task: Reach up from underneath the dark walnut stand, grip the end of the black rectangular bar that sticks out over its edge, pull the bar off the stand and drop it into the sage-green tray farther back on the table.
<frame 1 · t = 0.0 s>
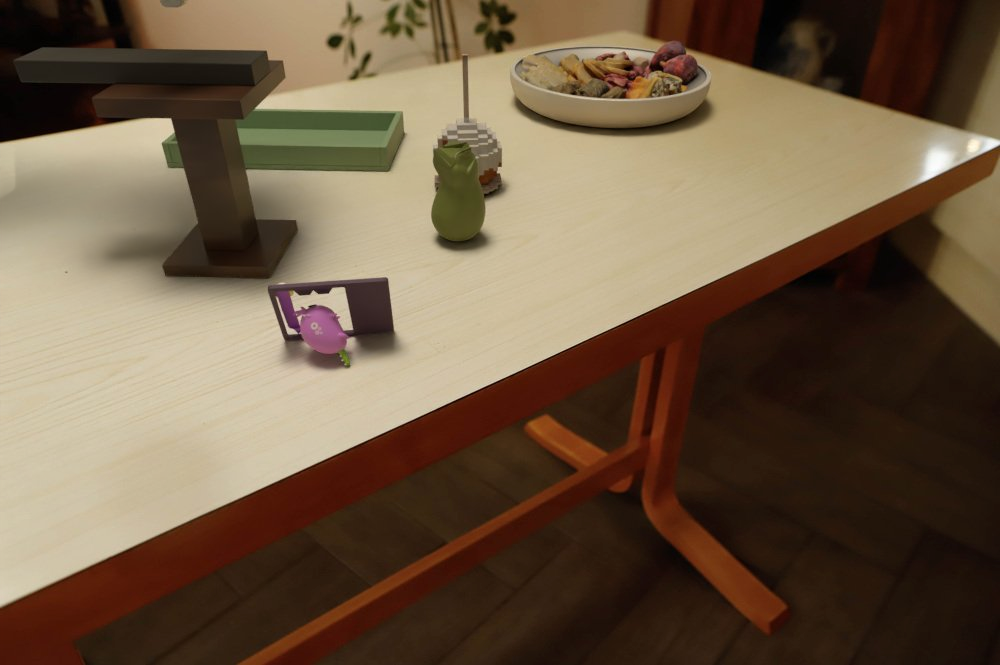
green rounded figure: (458, 239, 75), on the table
green tray: (292, 149, 95), on the table
black rectangular bar: (148, 76, 62), point 17 cm above the table, touching walnut stand
bowl: (606, 103, 112), on the table
walnut stand: (235, 251, 72), on the table
decorative ornament: (468, 188, 85), on the table
pop-out character card: (339, 352, 58), on the table
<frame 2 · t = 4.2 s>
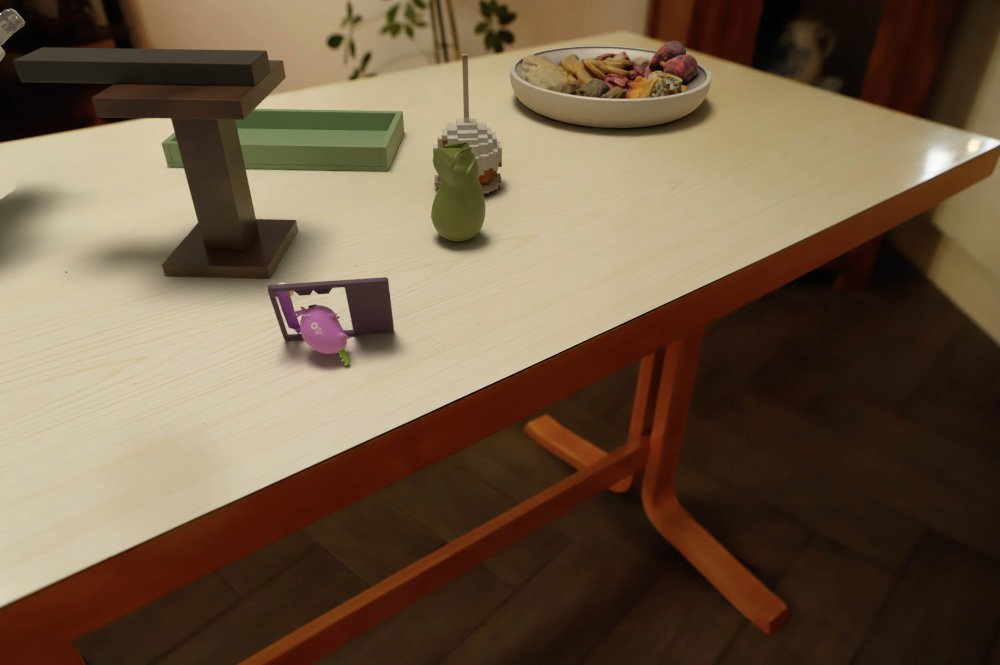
hand: (3, 18, 67), 20 cm above the table, tool pointing upward, fingers open, 8 cm apart
nothing on the table moved.
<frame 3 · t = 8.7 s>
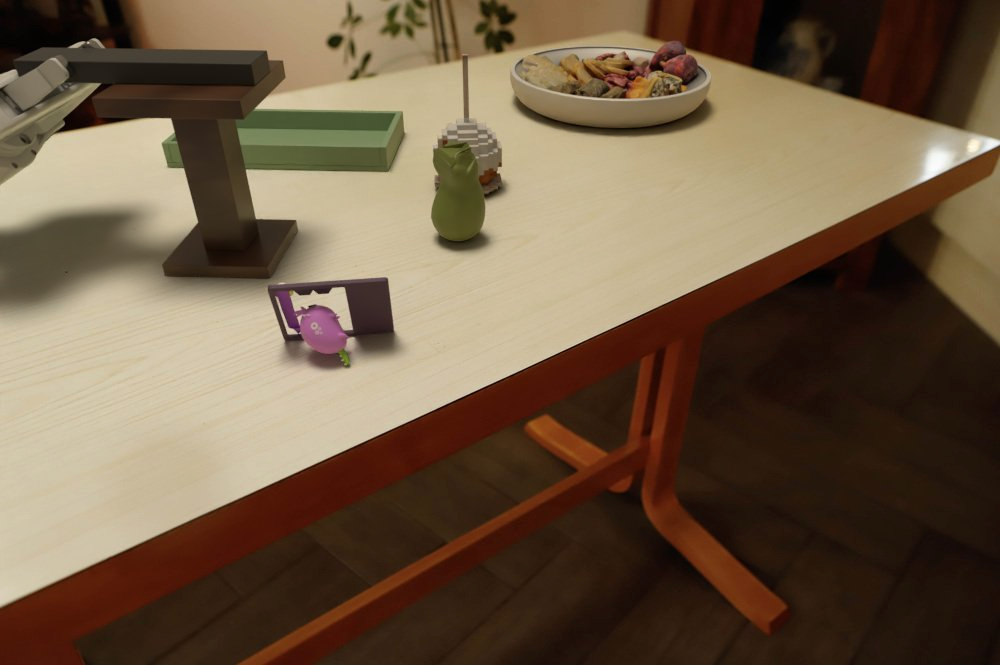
hand: (82, 55, 61), 19 cm above the table, tool pointing upward, fingers closed on black rectangular bar, 4 cm apart
black rectangular bar: (148, 76, 62), point 17 cm above the table, touching gripper, walnut stand
everything else where it was.
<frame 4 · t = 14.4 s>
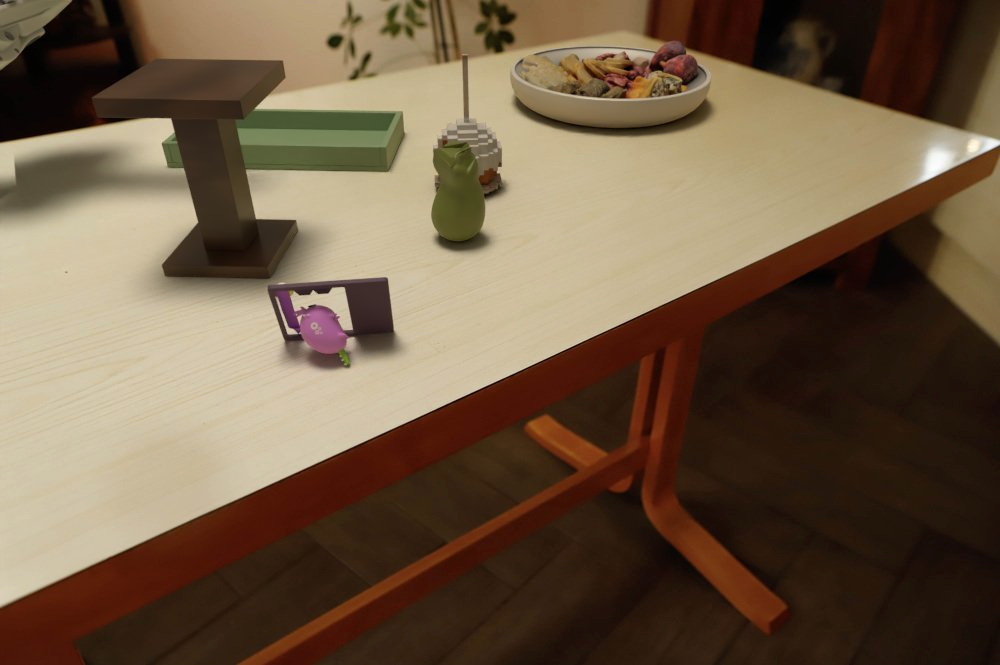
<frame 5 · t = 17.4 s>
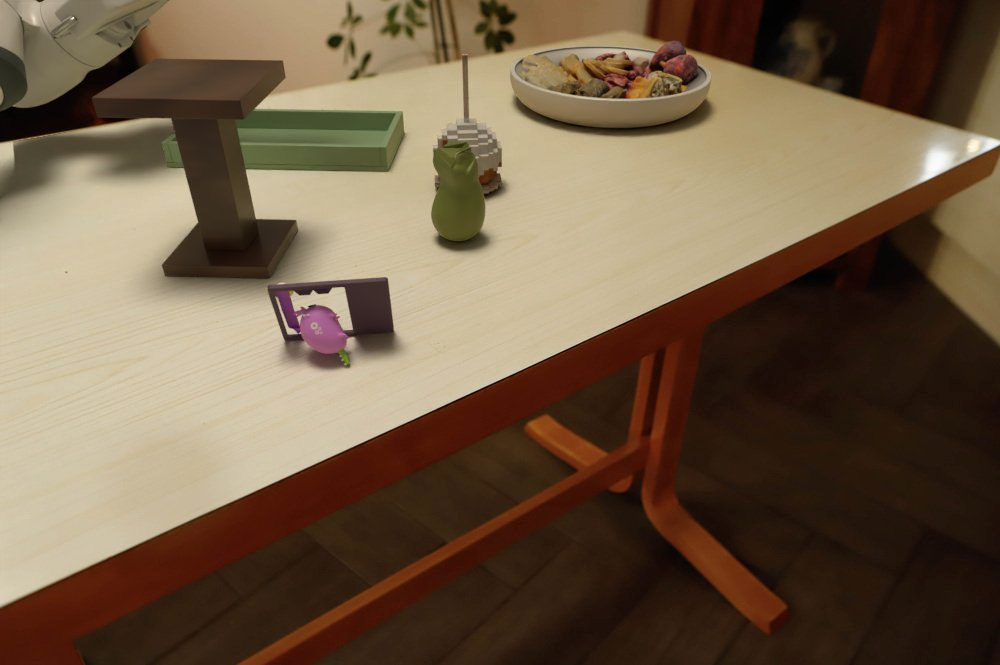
when the fingers open (17 cm above the table, at t = 20.3 s): black rectangular bar drops 15 cm, resting on green tray.
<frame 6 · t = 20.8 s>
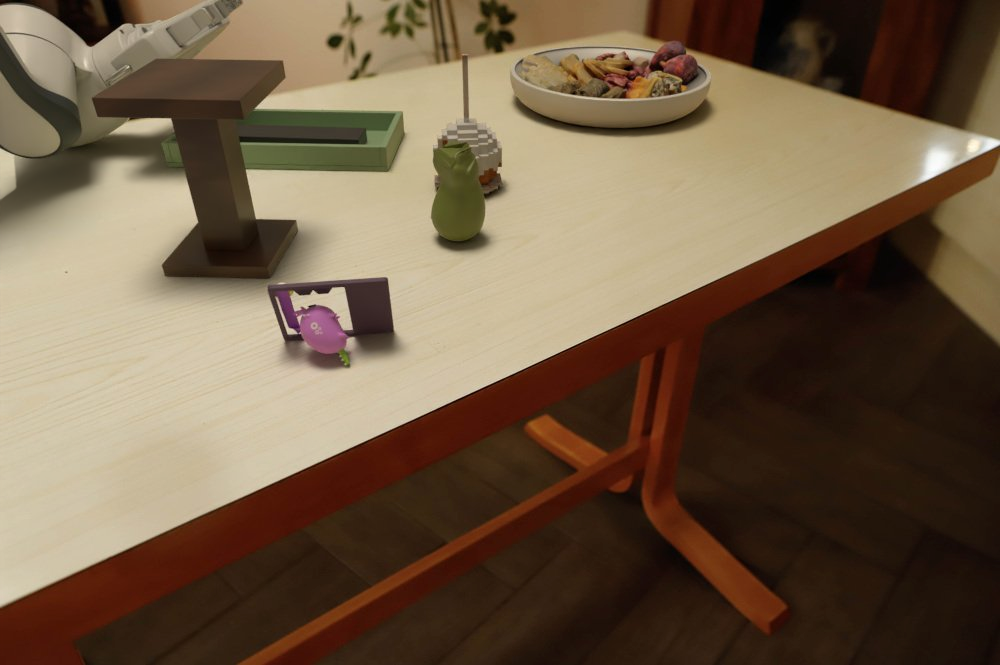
hand: (224, 4, 85), 18 cm above the table, tool pointing upward, fingers open, 8 cm apart
black rectangular bar: (288, 144, 95), point 1 cm above the table, touching green tray
everything else where it was.
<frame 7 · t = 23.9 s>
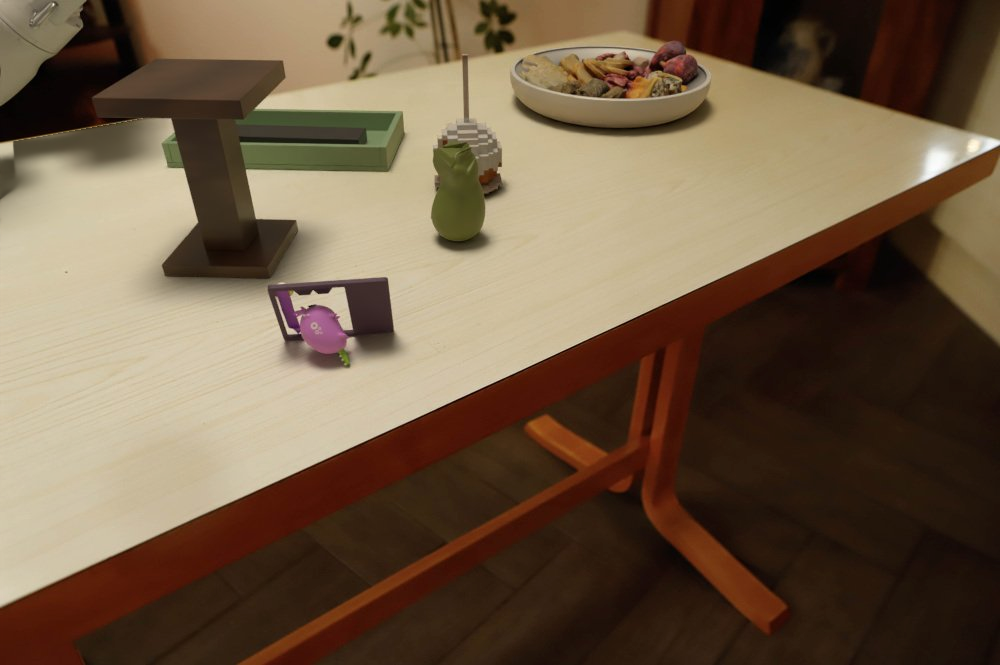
nothing on the table moved.
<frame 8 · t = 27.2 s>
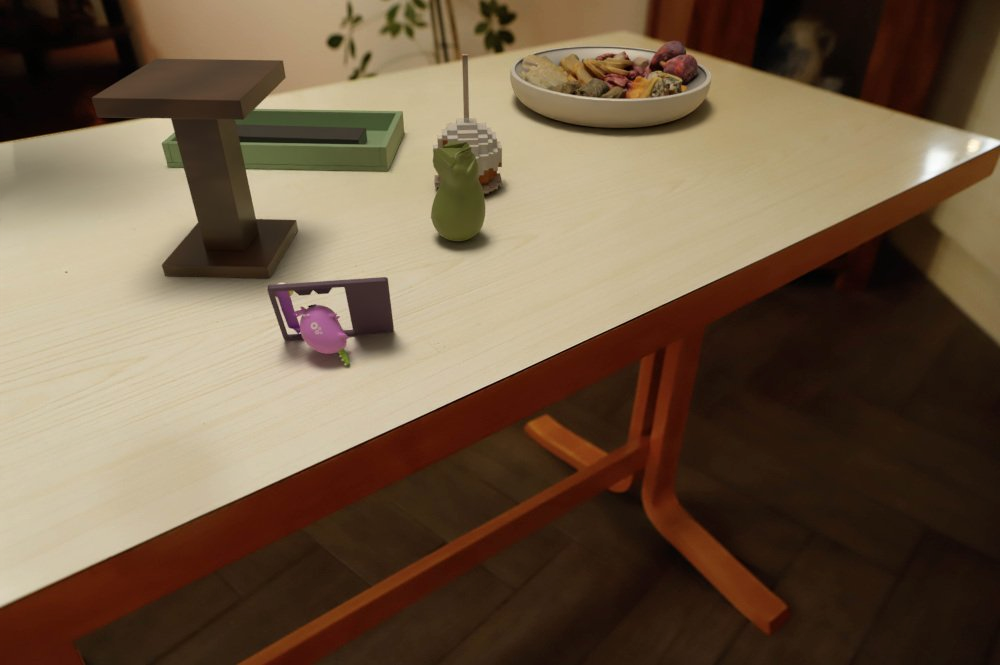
nothing on the table moved.
at the end: black rectangular bar inside the target area in the green tray (0.4 cm from its centre), point 0.6 cm above the green tray's base; the gripper is holding nothing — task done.
